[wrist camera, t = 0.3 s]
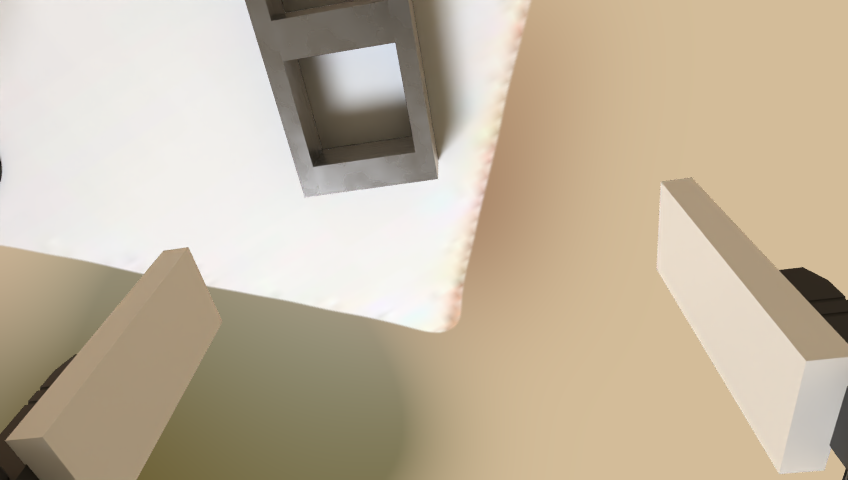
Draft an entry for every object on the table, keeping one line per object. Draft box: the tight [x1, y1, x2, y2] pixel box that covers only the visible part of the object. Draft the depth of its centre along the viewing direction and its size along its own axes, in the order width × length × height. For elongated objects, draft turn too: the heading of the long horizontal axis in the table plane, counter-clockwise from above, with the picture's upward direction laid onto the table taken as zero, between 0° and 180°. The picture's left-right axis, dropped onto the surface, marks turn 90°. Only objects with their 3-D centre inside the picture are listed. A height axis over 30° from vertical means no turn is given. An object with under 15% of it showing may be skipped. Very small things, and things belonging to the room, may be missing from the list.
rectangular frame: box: [245, 0, 438, 197], centre depth 36 cm, size 22×10×4 cm, turn 9°
